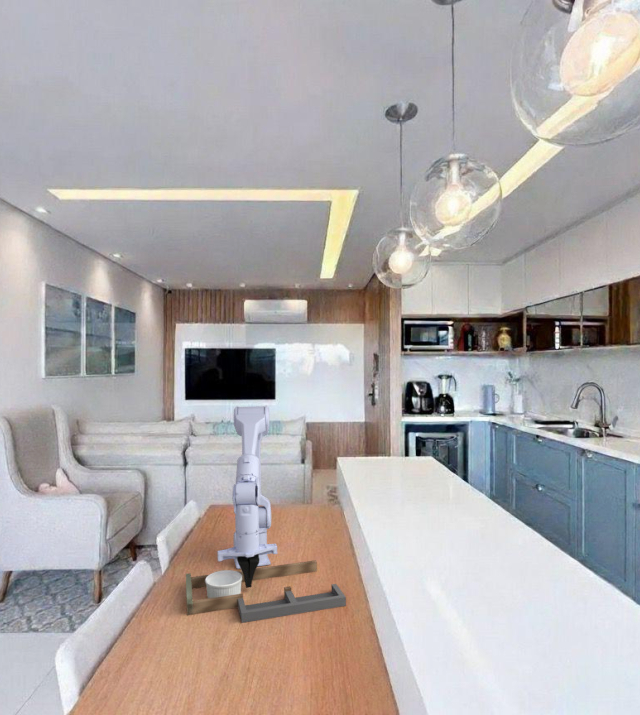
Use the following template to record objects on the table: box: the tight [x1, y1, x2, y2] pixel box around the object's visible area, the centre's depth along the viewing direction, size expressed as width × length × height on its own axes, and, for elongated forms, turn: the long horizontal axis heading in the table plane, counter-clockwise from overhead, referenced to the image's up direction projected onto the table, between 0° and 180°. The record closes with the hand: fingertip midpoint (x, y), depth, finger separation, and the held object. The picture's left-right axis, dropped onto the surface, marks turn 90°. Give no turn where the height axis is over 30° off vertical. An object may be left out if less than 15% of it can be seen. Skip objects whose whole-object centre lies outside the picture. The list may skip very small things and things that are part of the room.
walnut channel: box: [185, 559, 318, 616], centre depth 123 cm, size 34×14×4 cm, turn 106°
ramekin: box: [205, 569, 242, 599], centre depth 121 cm, size 9×9×4 cm
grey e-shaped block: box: [237, 583, 347, 624], centre depth 115 cm, size 24×7×2 cm, turn 106°
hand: (248, 585), depth 123 cm, fingers closed
